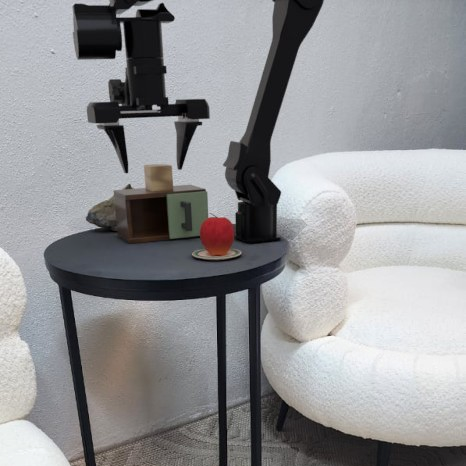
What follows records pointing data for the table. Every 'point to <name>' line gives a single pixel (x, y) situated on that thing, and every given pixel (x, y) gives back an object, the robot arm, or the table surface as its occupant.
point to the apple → (216, 239)
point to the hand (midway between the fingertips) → (153, 171)
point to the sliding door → (186, 213)
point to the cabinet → (145, 213)
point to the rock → (104, 213)
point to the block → (158, 177)
